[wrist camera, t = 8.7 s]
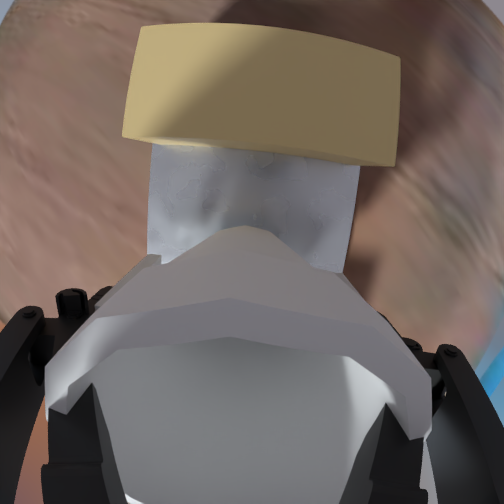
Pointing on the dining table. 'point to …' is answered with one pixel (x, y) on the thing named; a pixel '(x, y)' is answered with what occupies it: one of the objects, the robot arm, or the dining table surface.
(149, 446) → the foam cup
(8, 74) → the dining table surface
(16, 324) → the robot arm
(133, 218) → the dining table surface
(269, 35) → the block
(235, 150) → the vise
